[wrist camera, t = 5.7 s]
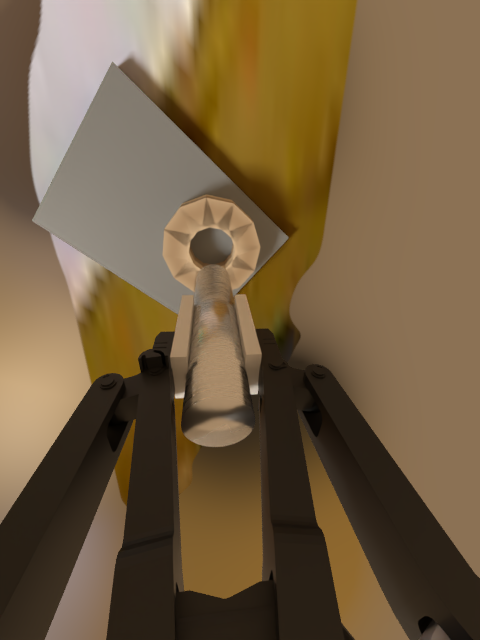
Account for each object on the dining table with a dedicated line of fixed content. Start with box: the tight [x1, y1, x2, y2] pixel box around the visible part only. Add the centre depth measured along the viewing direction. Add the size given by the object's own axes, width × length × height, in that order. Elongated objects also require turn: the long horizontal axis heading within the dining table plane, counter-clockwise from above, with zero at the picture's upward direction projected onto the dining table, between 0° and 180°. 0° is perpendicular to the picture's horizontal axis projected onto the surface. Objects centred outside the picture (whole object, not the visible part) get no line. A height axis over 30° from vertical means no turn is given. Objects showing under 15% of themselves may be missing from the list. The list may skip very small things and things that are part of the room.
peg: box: [181, 264, 255, 447], centre depth 17 cm, size 3×3×15 cm
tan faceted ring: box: [163, 194, 260, 292], centre depth 32 cm, size 11×11×3 cm
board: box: [32, 62, 289, 314], centre depth 32 cm, size 24×18×2 cm
